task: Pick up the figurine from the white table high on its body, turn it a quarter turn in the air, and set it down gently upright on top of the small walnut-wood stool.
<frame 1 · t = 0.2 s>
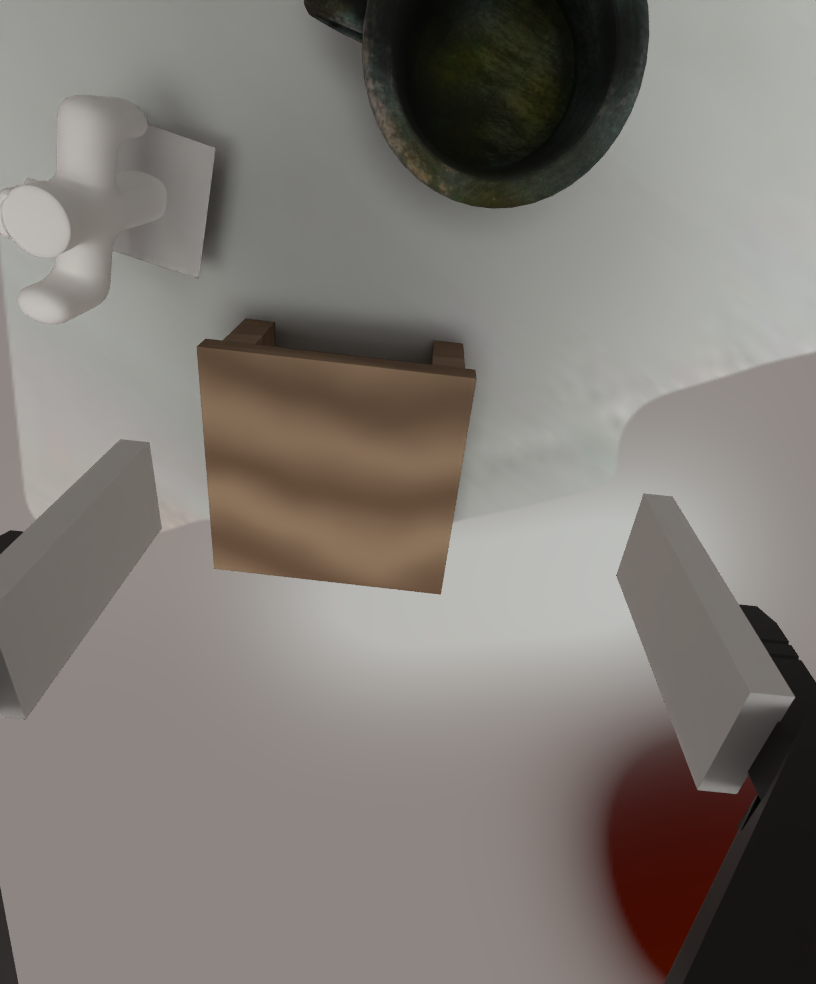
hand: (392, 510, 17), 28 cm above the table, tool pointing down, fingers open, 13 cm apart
mug: (459, 66, 34), on the table
walnut stool: (348, 430, 46), on the table
figurine: (170, 189, 38), on the table
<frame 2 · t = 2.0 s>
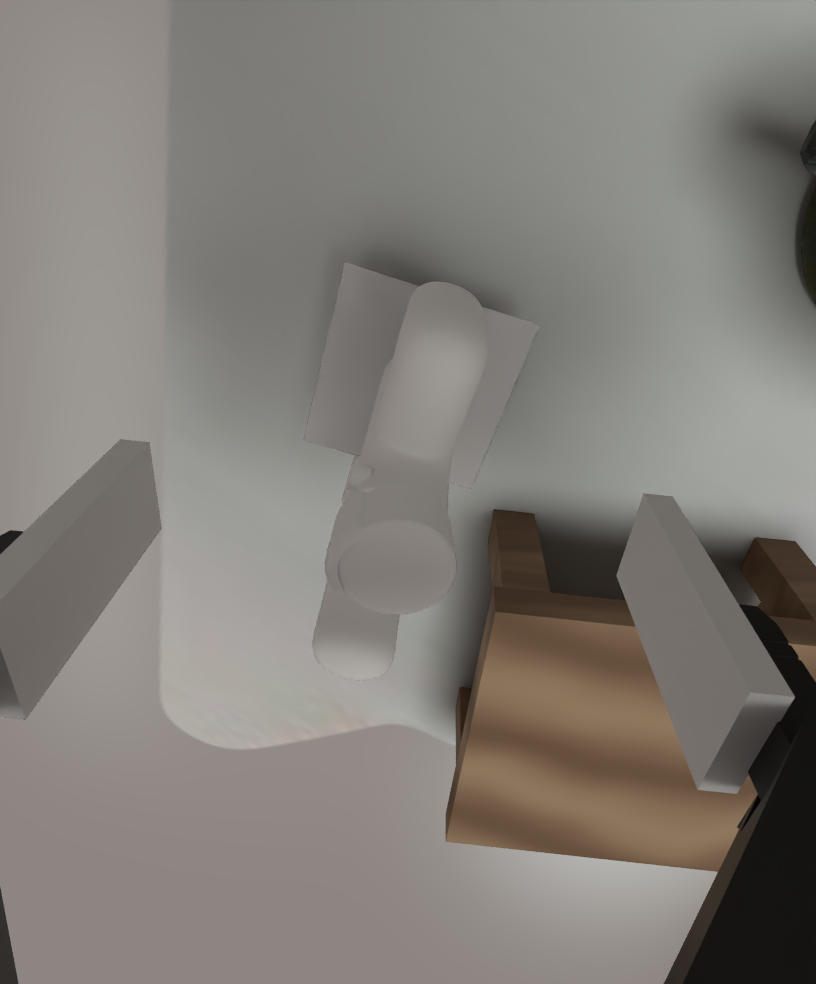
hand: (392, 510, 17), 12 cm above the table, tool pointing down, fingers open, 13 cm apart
walnut stool: (606, 635, 34), on the table
figurine: (418, 353, 27), on the table
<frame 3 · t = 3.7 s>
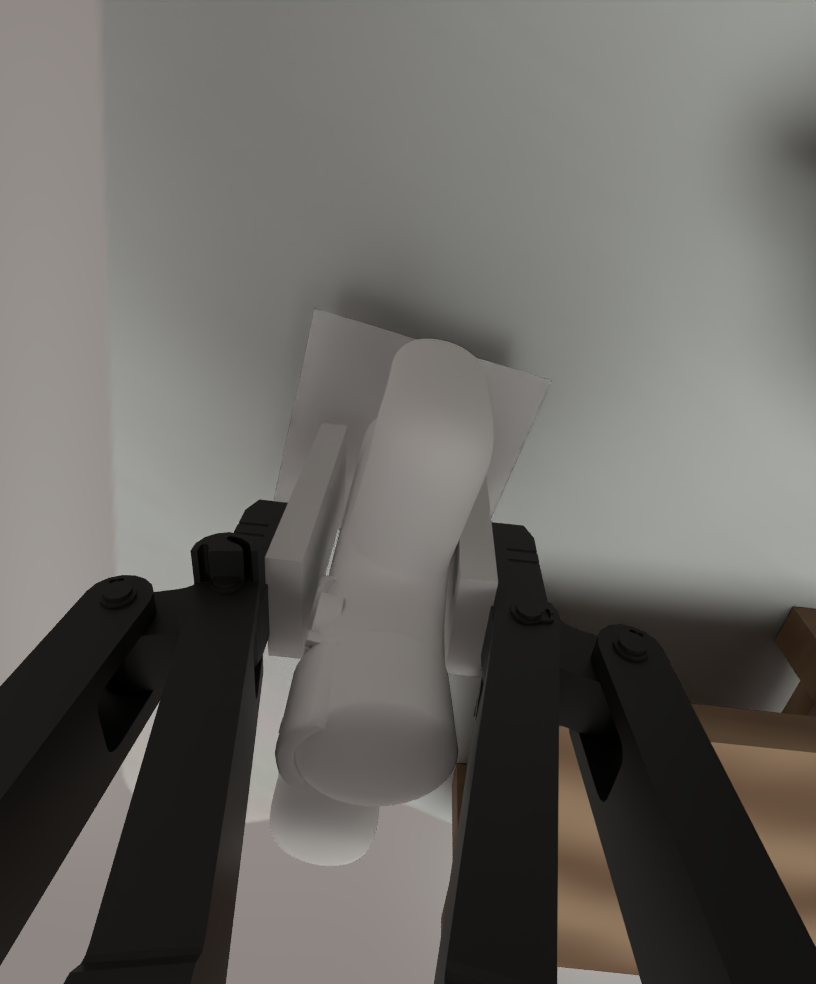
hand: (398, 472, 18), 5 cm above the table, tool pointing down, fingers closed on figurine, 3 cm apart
walnut stool: (621, 709, 30), on the table
figurine: (407, 404, 23), on the table, touching gripper
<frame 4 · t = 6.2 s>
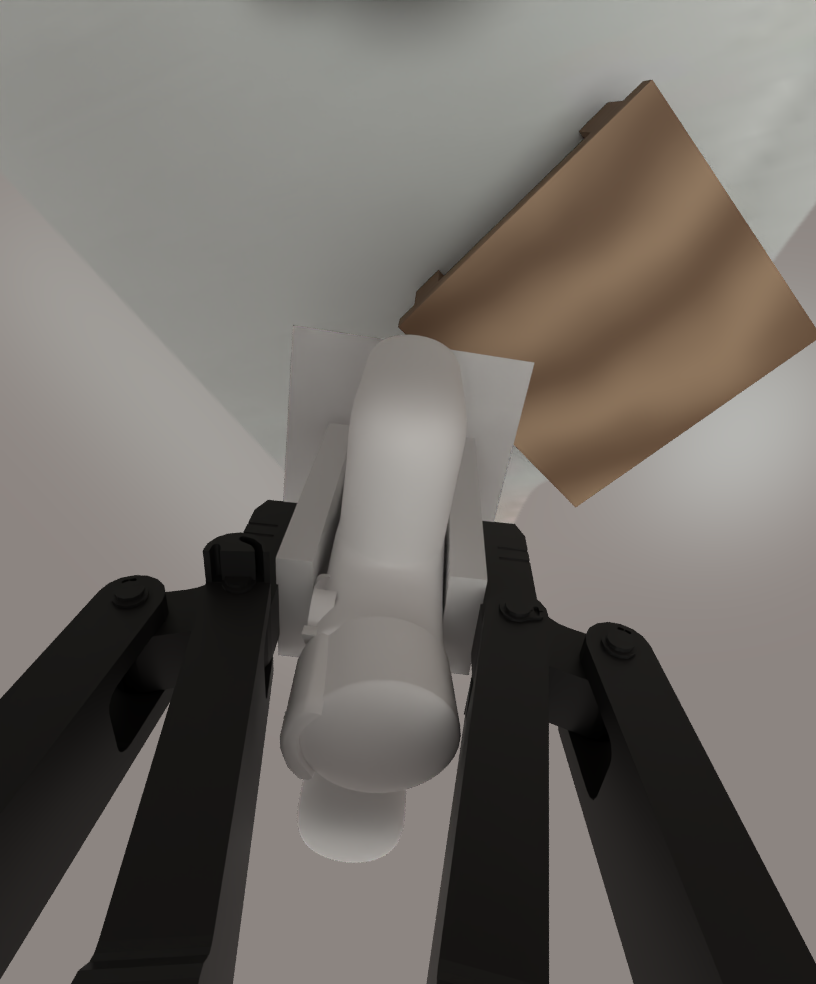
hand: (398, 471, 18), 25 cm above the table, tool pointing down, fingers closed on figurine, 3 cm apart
walnut stool: (579, 295, 40), on the table
figurine: (402, 408, 23), point 20 cm above the table, touching gripper
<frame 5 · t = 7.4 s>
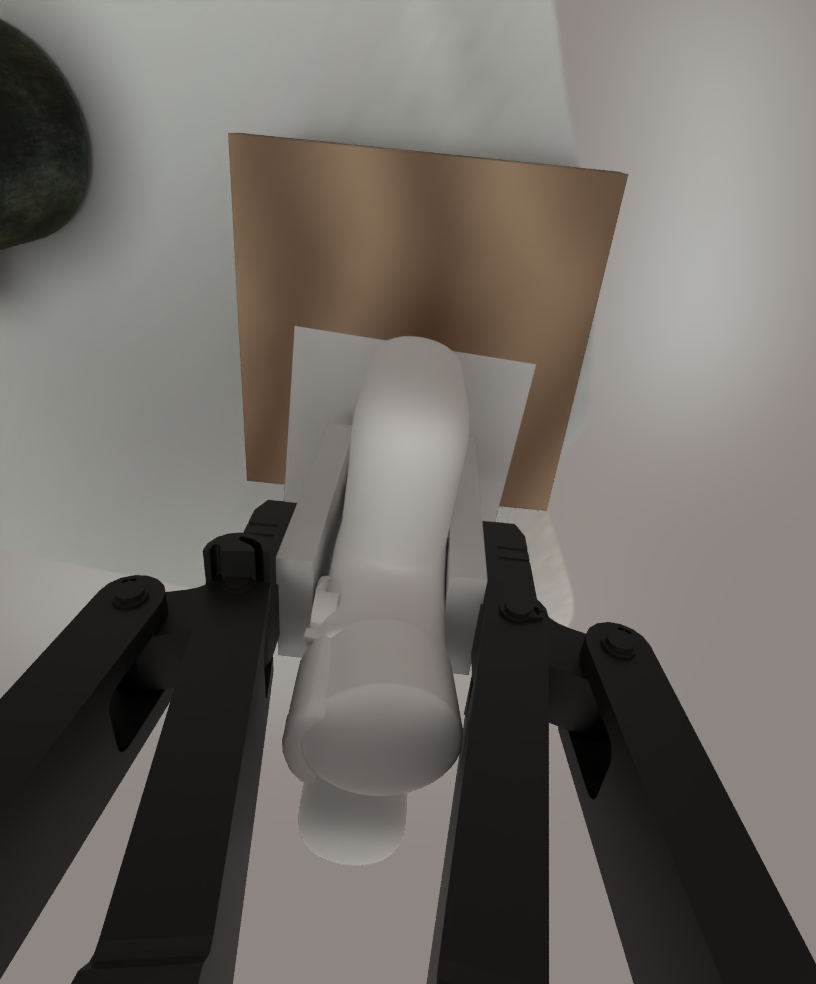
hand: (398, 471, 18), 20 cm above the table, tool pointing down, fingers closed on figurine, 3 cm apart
walnut stool: (416, 306, 35), on the table
figurine: (403, 409, 23), point 14 cm above the table, touching gripper
when the fingers open (14 cm above the table, at t = 8.6 s): figurine stays where it is, resting on walnut stool.
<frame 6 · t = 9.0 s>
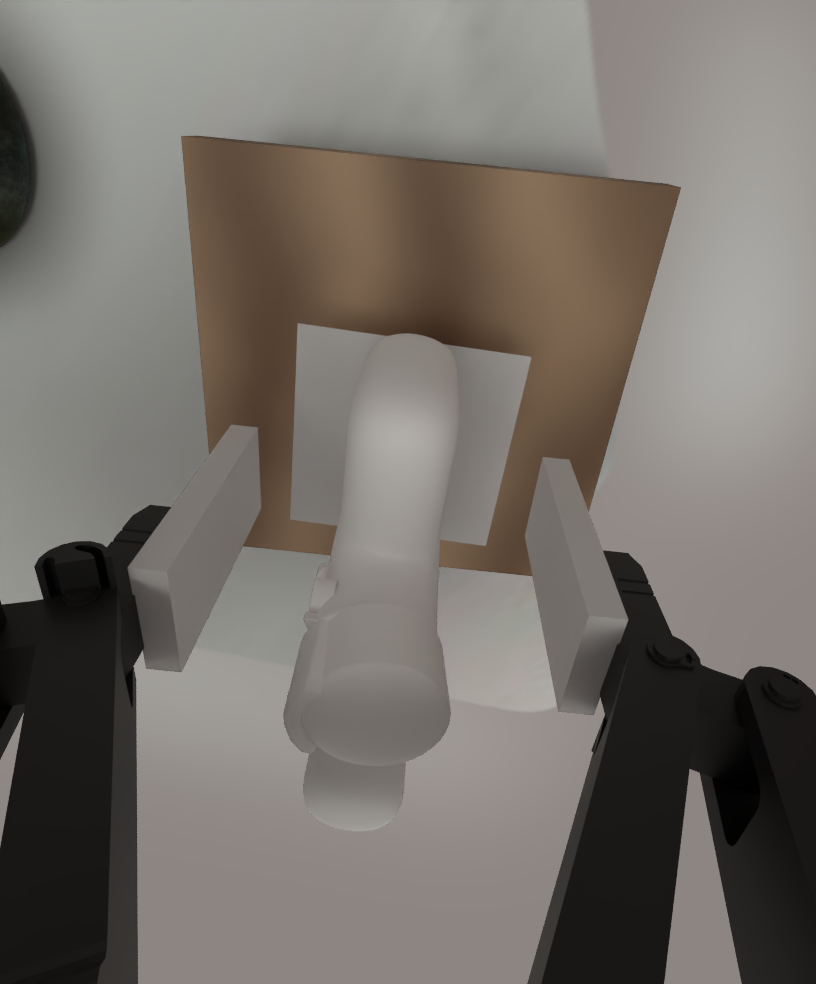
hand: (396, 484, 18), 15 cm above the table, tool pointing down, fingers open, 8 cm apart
walnut stool: (417, 335, 31), on the table
figurine: (406, 401, 24), point 8 cm above the table, touching walnut stool
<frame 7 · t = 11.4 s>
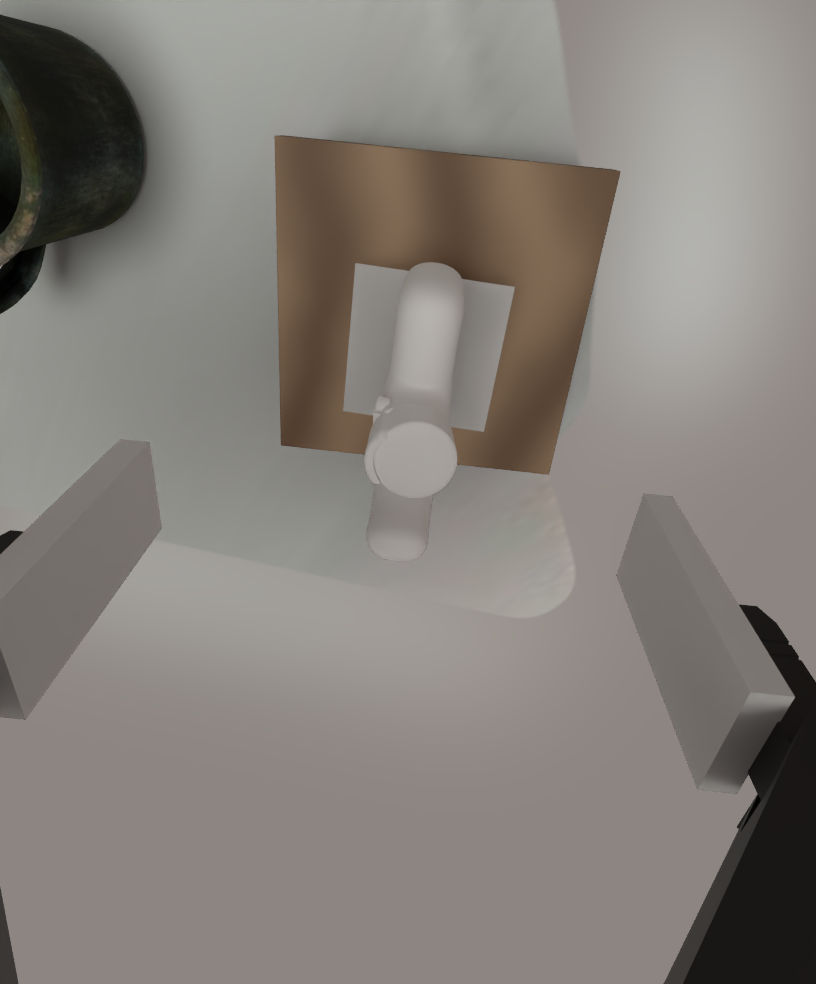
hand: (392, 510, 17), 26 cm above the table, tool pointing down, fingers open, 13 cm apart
mug: (64, 166, 37), on the table
walnut stool: (433, 291, 39), on the table
figurine: (426, 330, 33), point 8 cm above the table, touching walnut stool
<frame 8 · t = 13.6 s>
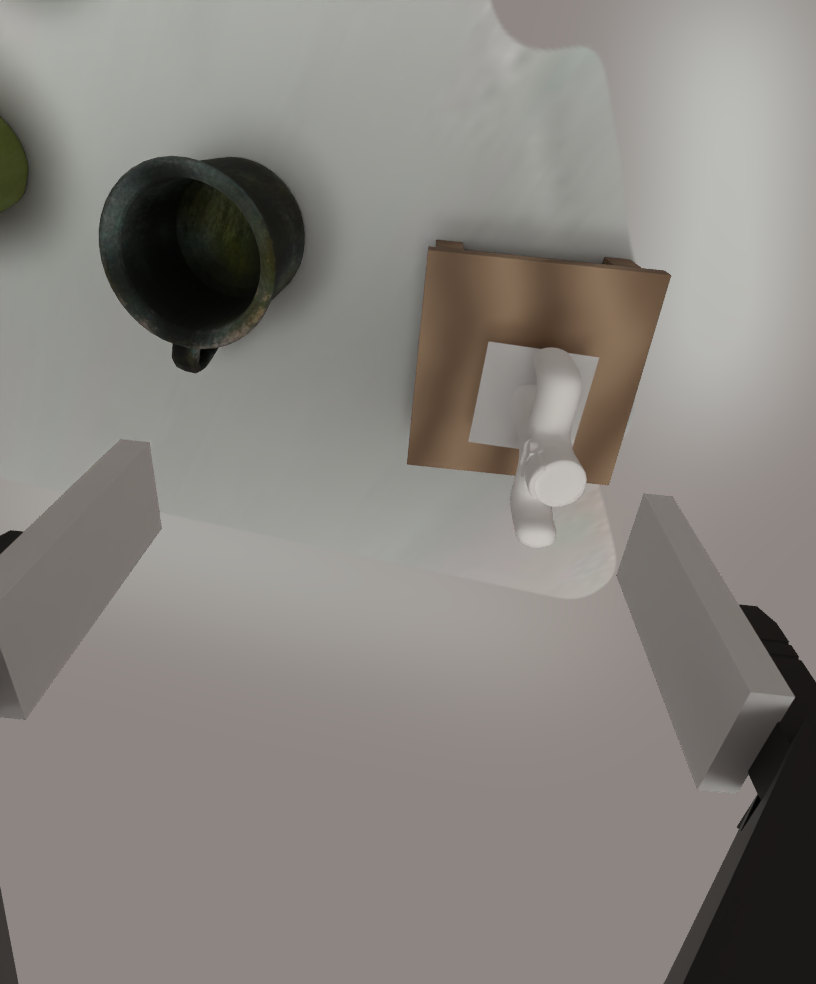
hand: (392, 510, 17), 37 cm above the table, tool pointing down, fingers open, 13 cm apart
mug: (239, 252, 49), on the table
walnut stool: (516, 344, 51), on the table
figurine: (524, 381, 45), point 8 cm above the table, touching walnut stool
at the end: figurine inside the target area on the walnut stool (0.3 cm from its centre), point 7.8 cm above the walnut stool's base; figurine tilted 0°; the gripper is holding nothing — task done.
